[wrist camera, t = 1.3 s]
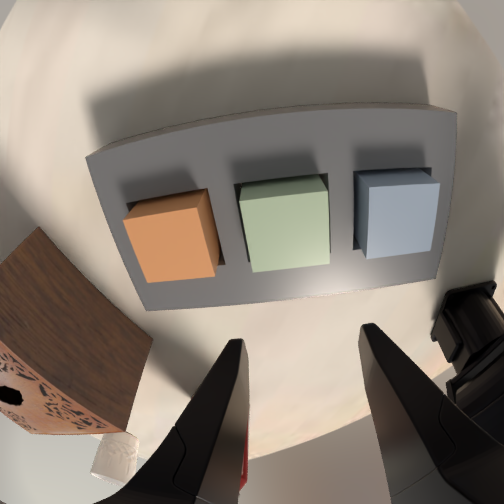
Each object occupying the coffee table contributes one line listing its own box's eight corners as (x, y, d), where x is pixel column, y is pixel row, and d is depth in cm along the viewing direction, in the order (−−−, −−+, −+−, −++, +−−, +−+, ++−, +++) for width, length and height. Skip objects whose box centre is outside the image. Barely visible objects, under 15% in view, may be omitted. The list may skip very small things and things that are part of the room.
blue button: (414, 164, 15) (439, 183, 12) (409, 225, 17) (430, 250, 14) (351, 168, 15) (369, 187, 13) (352, 231, 17) (366, 259, 15)
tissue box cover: (40, 224, 20) (-34, 304, 11) (153, 337, 26) (125, 431, 17) (-16, 319, 28) (-48, 368, 20) (52, 381, 34) (31, 433, 26)
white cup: (139, 434, 41) (128, 483, 32) (145, 447, 45) (136, 490, 37) (98, 422, 40) (84, 468, 32) (107, 436, 44) (96, 478, 36)
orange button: (207, 185, 16) (196, 207, 13) (221, 246, 18) (215, 276, 16) (142, 197, 16) (122, 220, 14) (161, 253, 19) (147, 282, 16)
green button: (316, 171, 15) (327, 190, 13) (320, 234, 18) (329, 263, 15) (242, 179, 16) (239, 201, 13) (254, 242, 18) (252, 272, 15)
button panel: (430, 105, 14) (456, 112, 11) (418, 254, 20) (435, 278, 17) (109, 143, 16) (85, 157, 14) (157, 283, 22) (146, 311, 19)
